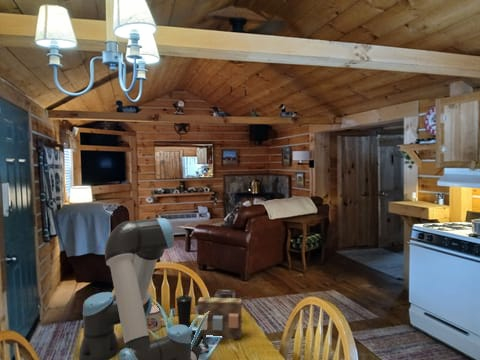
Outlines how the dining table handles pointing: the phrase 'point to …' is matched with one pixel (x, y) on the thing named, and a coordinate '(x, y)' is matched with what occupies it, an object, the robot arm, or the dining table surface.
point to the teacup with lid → (154, 319)
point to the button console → (221, 308)
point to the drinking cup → (184, 308)
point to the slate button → (218, 322)
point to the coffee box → (225, 293)
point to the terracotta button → (233, 320)
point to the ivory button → (205, 323)
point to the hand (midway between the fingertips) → (200, 328)
